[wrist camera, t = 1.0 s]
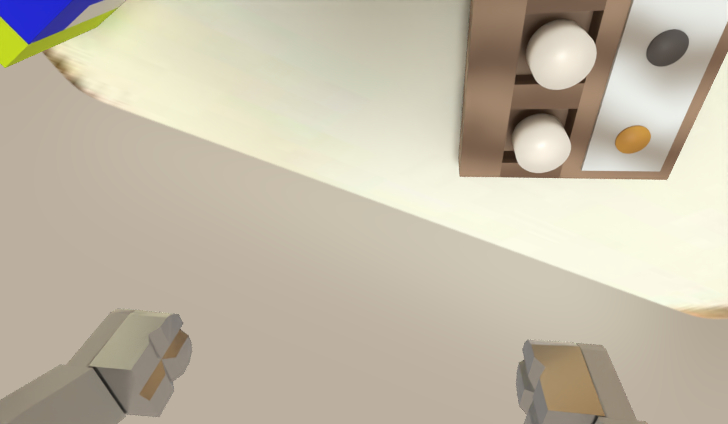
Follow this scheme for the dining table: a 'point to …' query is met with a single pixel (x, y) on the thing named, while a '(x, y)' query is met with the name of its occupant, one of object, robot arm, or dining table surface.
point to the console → (592, 84)
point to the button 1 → (540, 143)
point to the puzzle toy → (46, 24)
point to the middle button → (560, 54)
